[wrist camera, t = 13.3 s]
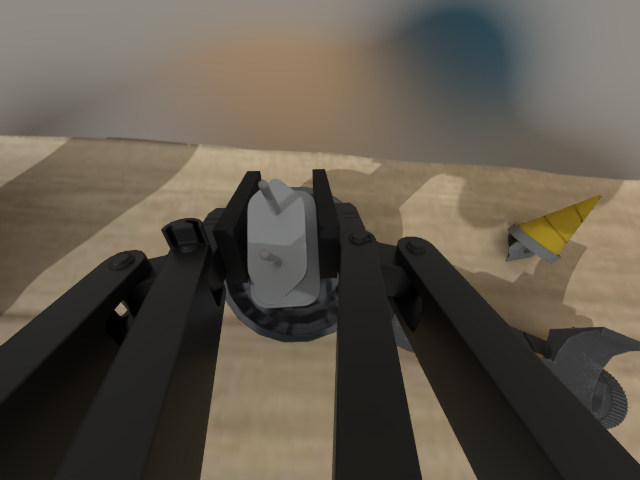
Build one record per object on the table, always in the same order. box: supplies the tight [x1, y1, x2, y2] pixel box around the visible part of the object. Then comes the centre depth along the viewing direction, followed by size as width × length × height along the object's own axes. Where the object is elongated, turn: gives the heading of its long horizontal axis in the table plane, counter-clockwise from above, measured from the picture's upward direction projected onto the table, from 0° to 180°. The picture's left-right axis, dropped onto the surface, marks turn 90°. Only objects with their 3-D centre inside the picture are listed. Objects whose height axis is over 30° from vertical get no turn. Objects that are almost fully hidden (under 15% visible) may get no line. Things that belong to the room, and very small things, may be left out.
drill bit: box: [506, 195, 602, 264], centre depth 25 cm, size 5×5×10 cm
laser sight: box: [387, 299, 640, 429], centre depth 21 cm, size 10×22×10 cm, turn 68°
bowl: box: [224, 187, 365, 342], centre depth 23 cm, size 14×14×6 cm
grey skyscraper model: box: [248, 179, 320, 308], centre depth 12 cm, size 3×5×12 cm, turn 3°
